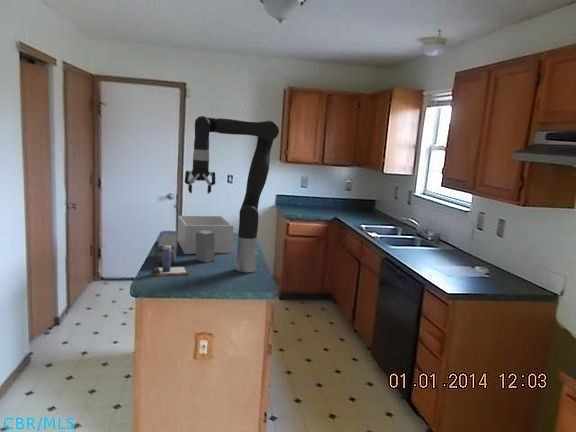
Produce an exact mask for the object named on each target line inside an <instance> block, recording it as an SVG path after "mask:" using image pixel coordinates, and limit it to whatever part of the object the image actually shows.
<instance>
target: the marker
mask: <svg viewBox="0 0 576 432" xmlns="http://www.w3.org/2000/svg"><path fill="white" fill-rule="evenodd" d="M170 267H172V264H171V246H168V245H165V246H163V261H162V265H161V268H163V272H170Z"/></svg>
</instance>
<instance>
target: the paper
mask: <svg viewBox="0 0 576 432" xmlns="http://www.w3.org/2000/svg"><path fill="white" fill-rule="evenodd" d="M184 267H185V266H173V267H172V266H171V267H170V272H163V267H158V268H159V272H160V274H170V273H186V270H185V268H184Z"/></svg>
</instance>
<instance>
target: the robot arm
mask: <svg viewBox="0 0 576 432" xmlns="http://www.w3.org/2000/svg"><path fill="white" fill-rule="evenodd" d="M279 128H280V127H279V126H278V124H277V123H276V122H275V121H273V120H265V121H245V120H240V119H239V120H238V119H233V118H232V119H231V118H222V117H221V118H215V117H208V116H204V115H200V116H198V117H196V119H195V120H194V139H193V141H194V142H193V154H192V170H190V171H189V170H186V171H185V174H184V175H185V176H184V183H185V184H186V185H188V188H187V190H188V192H189V193H190V194H192V193H193V183H194V182H195V181H197V182H198V181H205V182H206V184H207V194H210V193H211V192H212V186H214V185H216V172H214V171H212V172H211V171H210V169H209V168H210V166H209V165H210V133H218V134H224V135H237V136H239V135H240V136H251V137H253V136H254V137H257V142H256V146H255V150H254V153H253V156H252V159H251V161H250V162H251V163H250V165H249V171H248V175H247V181H246V188H245V189H246V190H245V193H244V199H243V201H242V203H241V207H240V209H239V213H238V214H239V220H238V222H239V224H238V233H237V234H238V237H237V255H236V268H235V269H236V271H237V272H240V273H252V272H253V273H254V272H256V271H257V261H258V259H257V257H258V253H257V240H258V230H259V212H258V210H259V209H258V208H259V203H260V197H261V194H262V192H263V190H264V187H265V185H266V182H267V179H268V175H269V171H270V170H269V169H270V161H271V151H272V147H273V143H274V140H275V139H276V138H277V137H278V136H279V133H280V129H279ZM191 175H192V177H191V179H189V177H190V176H191ZM209 176H210V177H211V182H210V180H209V178H208V177H209Z"/></svg>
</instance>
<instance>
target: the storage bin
mask: <svg viewBox="0 0 576 432" xmlns="http://www.w3.org/2000/svg"><path fill="white" fill-rule="evenodd" d="M177 220H178V221H177V224H178V225H177V244H179V246H180V248H181V250H182V252H183V253H184V255H191V254H193V255H194V254H195V255H196V232H198V231H204V230H206V231H210V232H214V247H215V254H232V253H233V245H234V228H235V227H234V226H235V225H234V224H232V223H231V222H230V221H229V220H228V219H226V218H225V217H224V216H222V215H221V216H220V215H218V216H217V215H178V219H177Z"/></svg>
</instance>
